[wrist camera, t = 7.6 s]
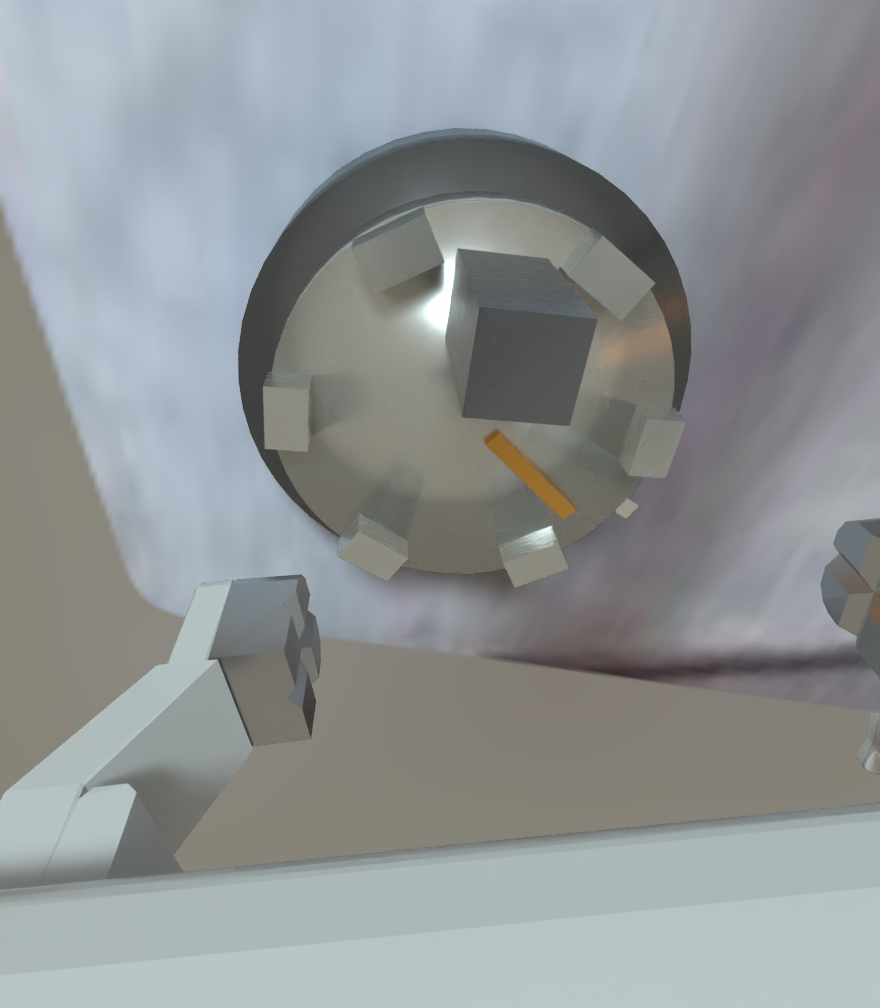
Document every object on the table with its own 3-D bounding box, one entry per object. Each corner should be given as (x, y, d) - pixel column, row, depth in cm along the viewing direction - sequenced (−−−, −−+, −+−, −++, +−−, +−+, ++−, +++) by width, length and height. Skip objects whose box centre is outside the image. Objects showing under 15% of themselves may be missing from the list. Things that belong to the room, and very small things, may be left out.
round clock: (711, 219, 23) (846, 283, 16) (599, 553, 31) (657, 687, 24) (273, 163, 21) (219, 209, 14) (279, 535, 29) (247, 675, 22)
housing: (739, 305, 29) (805, 350, 24) (492, 567, 36) (506, 639, 32) (404, 8, 22) (408, -6, 18) (187, 407, 30) (151, 468, 25)
